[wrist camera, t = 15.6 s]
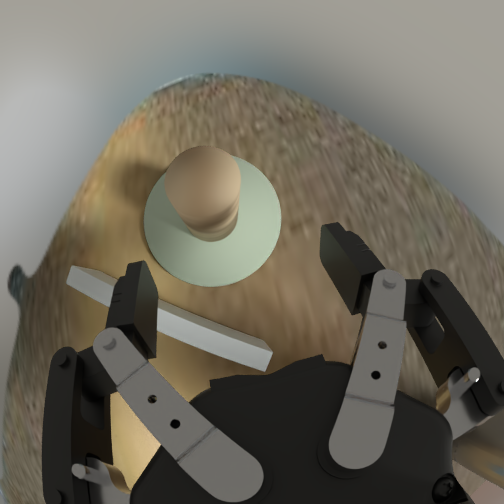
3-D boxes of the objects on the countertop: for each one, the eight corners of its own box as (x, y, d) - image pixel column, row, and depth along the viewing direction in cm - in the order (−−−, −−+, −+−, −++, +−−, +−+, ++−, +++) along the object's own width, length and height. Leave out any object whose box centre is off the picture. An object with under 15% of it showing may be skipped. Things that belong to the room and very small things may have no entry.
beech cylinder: (232, 187, 24) (233, 140, 16) (242, 236, 24) (247, 208, 16) (182, 196, 24) (161, 154, 16) (189, 246, 23) (168, 223, 15)
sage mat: (262, 146, 26) (263, 143, 25) (294, 269, 24) (295, 269, 24) (139, 171, 24) (137, 169, 24) (158, 299, 23) (156, 299, 22)
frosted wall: (263, 340, 23) (273, 352, 18) (257, 356, 23) (265, 371, 18) (98, 270, 23) (71, 265, 18) (93, 285, 22) (65, 283, 17)
